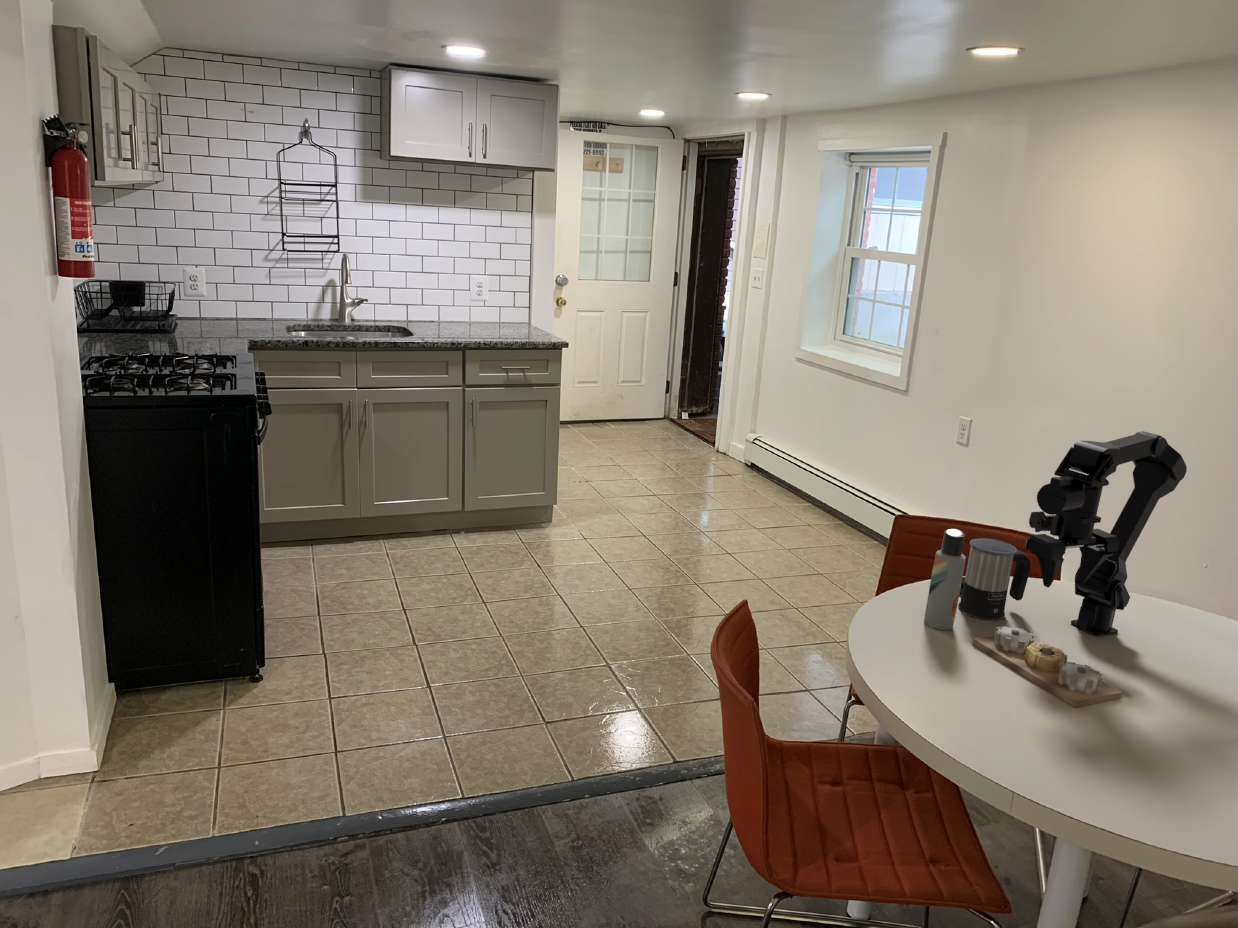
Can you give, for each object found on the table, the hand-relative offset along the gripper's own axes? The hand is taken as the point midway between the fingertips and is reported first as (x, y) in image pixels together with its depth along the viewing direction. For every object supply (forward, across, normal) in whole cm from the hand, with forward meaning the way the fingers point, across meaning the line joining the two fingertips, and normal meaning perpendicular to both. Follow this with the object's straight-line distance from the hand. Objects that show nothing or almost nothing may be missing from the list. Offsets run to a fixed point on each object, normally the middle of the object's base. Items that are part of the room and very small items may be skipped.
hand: (1063, 584), depth 179 cm
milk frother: (+12, +2, -19) cm, 22 cm away
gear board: (+12, +12, +9) cm, 19 cm away
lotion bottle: (+12, +18, -12) cm, 25 cm away
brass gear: (+11, +12, +9) cm, 18 cm away
